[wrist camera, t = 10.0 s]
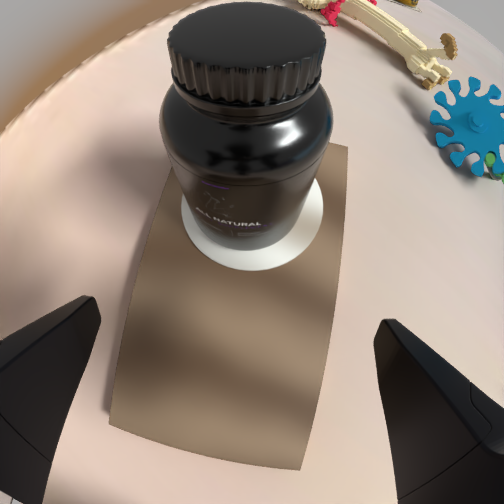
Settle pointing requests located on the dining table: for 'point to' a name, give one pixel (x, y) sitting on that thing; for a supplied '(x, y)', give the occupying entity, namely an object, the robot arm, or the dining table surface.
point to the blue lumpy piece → (473, 127)
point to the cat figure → (393, 36)
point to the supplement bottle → (246, 119)
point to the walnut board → (232, 331)
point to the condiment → (408, 3)
